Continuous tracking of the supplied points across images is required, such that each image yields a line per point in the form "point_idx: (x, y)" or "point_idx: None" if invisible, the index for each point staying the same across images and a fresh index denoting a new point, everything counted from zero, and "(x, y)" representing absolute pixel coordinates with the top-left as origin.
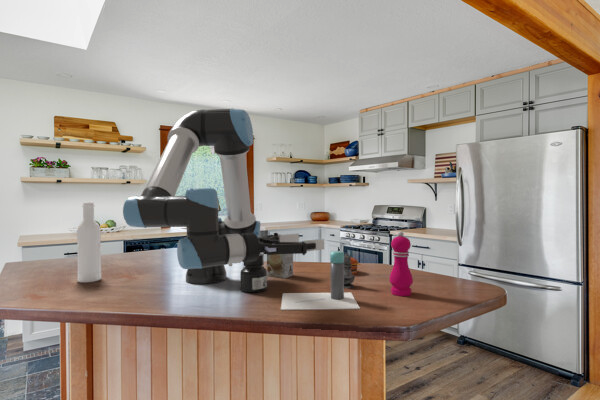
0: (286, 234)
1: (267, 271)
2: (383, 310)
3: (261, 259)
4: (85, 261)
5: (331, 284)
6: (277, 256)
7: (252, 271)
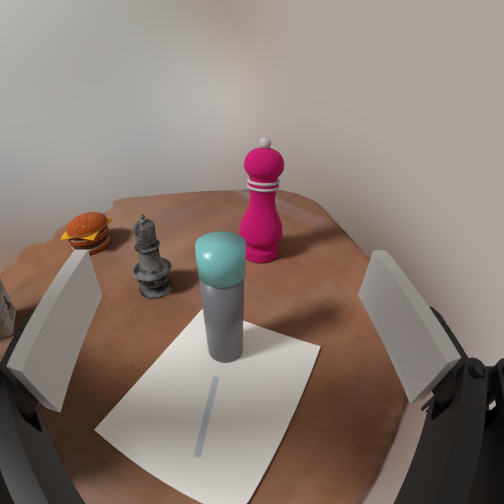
0: (36, 309)
1: None
2: (340, 317)
3: None
4: None
5: (221, 338)
6: None
7: None
